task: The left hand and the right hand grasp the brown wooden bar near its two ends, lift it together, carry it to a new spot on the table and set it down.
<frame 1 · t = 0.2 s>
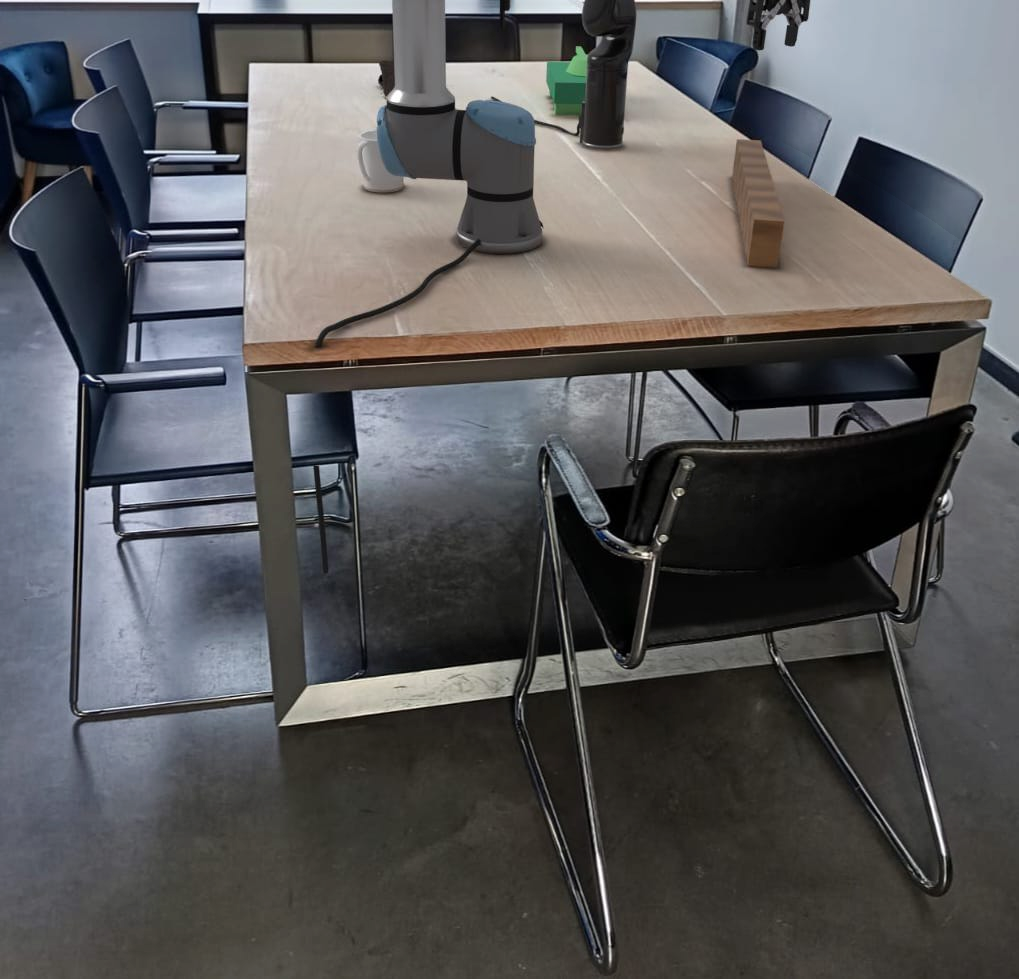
left hand: (469, 27, 224), 28 cm above the table, tool pointing down, fingers open, 13 cm apart
right hand: (773, 47, 212), 28 cm above the table, tool pointing down, fingers open, 8 cm apart
green gift box: (581, 103, 292), on the table
mug: (379, 189, 221), on the table
brown wooden bar: (752, 218, 210), on the table
dark brown boot: (403, 91, 300), on the table
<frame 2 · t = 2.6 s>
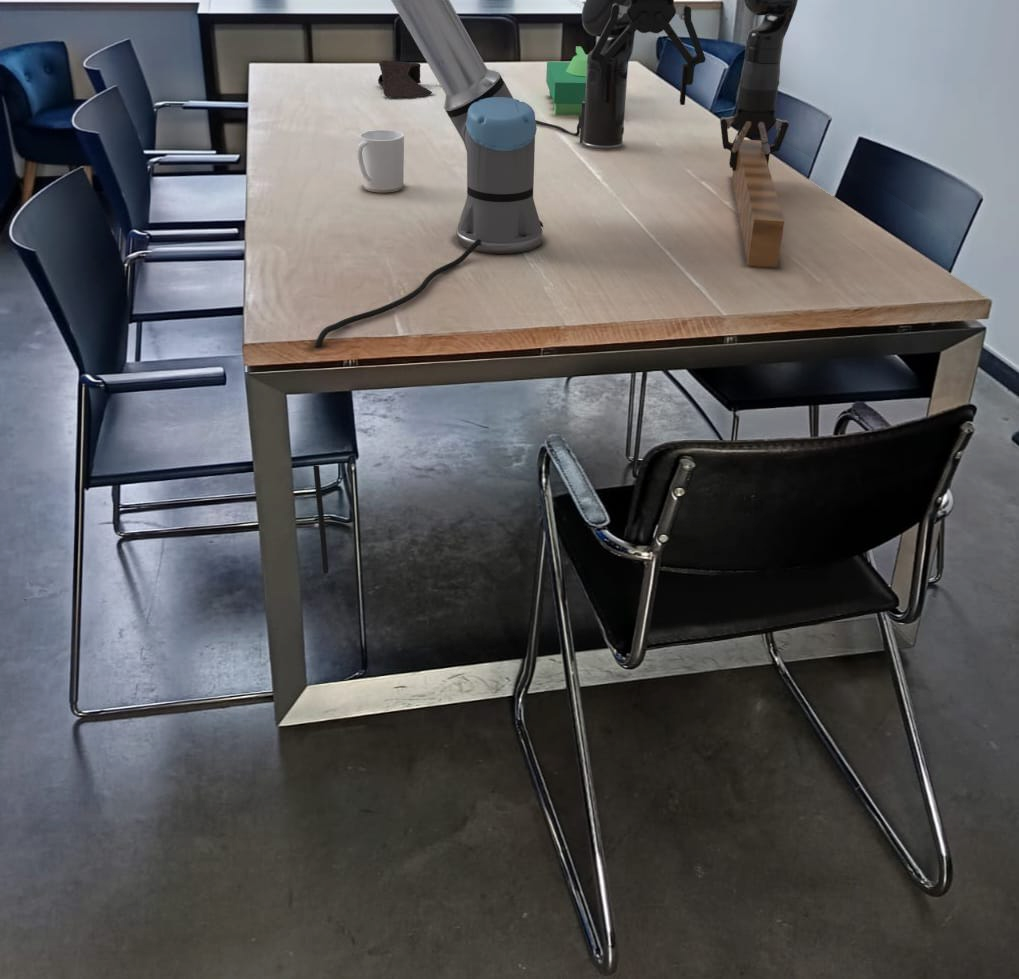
left hand: (644, 102, 199), 21 cm above the table, tool pointing down, fingers open, 13 cm apart
right hand: (747, 170, 226), 4 cm above the table, tool pointing down, fingers closed on brown wooden bar, 5 cm apart
brown wooden bar: (752, 218, 210), on the table, touching right hand
everything else where it was.
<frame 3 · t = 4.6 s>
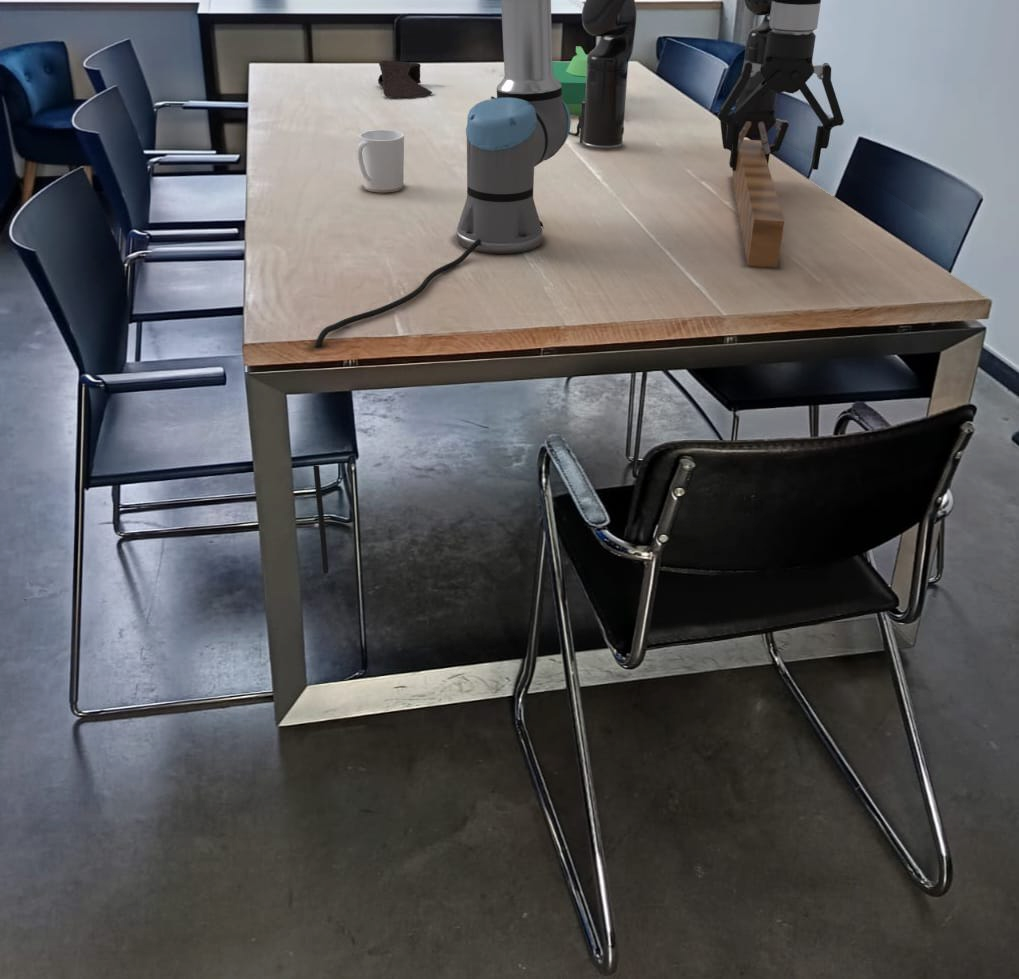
left hand: (773, 166, 184), 15 cm above the table, tool pointing down, fingers open, 13 cm apart
right hand: (747, 170, 226), 4 cm above the table, tool pointing down, fingers closed on brown wooden bar, 5 cm apart
brown wooden bar: (752, 218, 210), on the table, touching right hand
everything else where it was.
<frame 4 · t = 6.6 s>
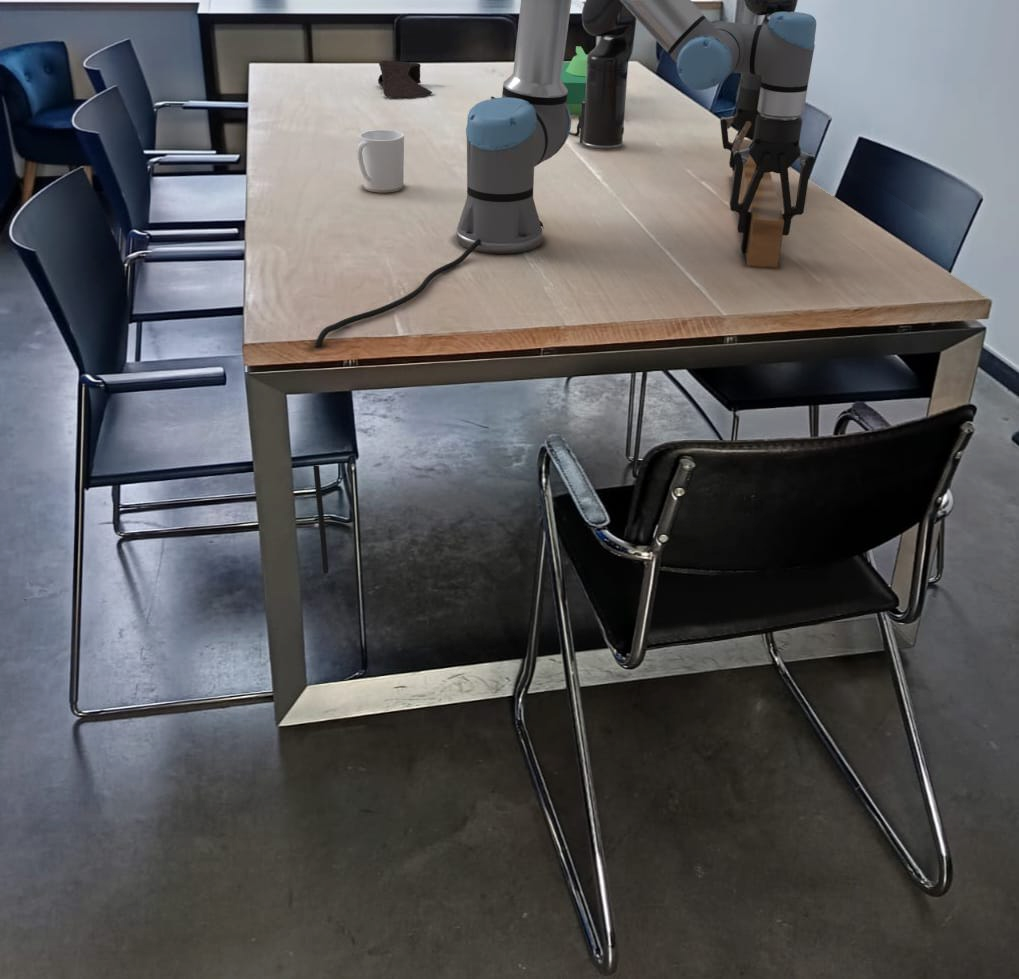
left hand: (760, 251, 192), 1 cm above the table, tool pointing down, fingers closed on brown wooden bar, 5 cm apart
right hand: (747, 170, 226), 4 cm above the table, tool pointing down, fingers closed on brown wooden bar, 5 cm apart
brown wooden bar: (752, 218, 210), on the table, touching left hand, right hand
everything else where it was.
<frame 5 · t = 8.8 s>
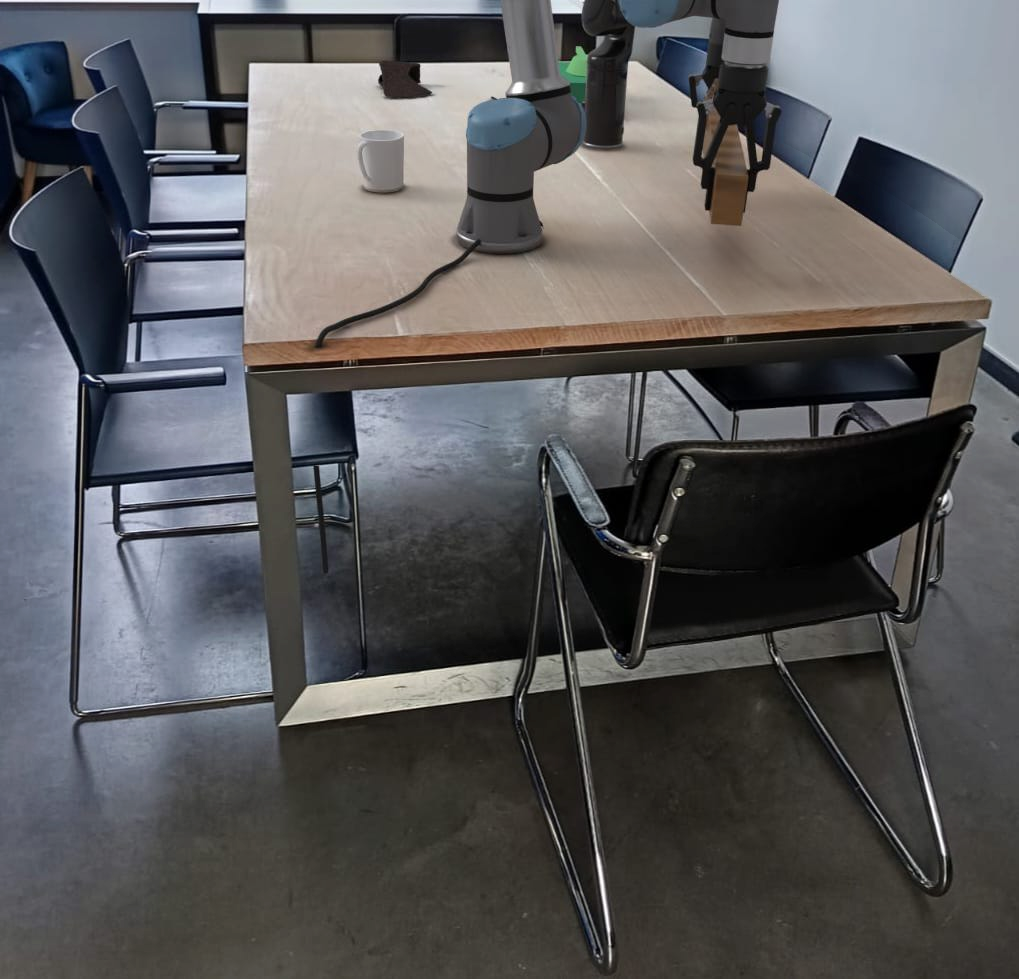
left hand: (724, 208, 184), 9 cm above the table, tool pointing down, fingers closed on brown wooden bar, 5 cm apart
right hand: (717, 130, 217), 12 cm above the table, tool pointing down, fingers closed on brown wooden bar, 5 cm apart
brown wooden bar: (719, 177, 202), point 9 cm above the table, touching left hand, right hand
everything else where it was.
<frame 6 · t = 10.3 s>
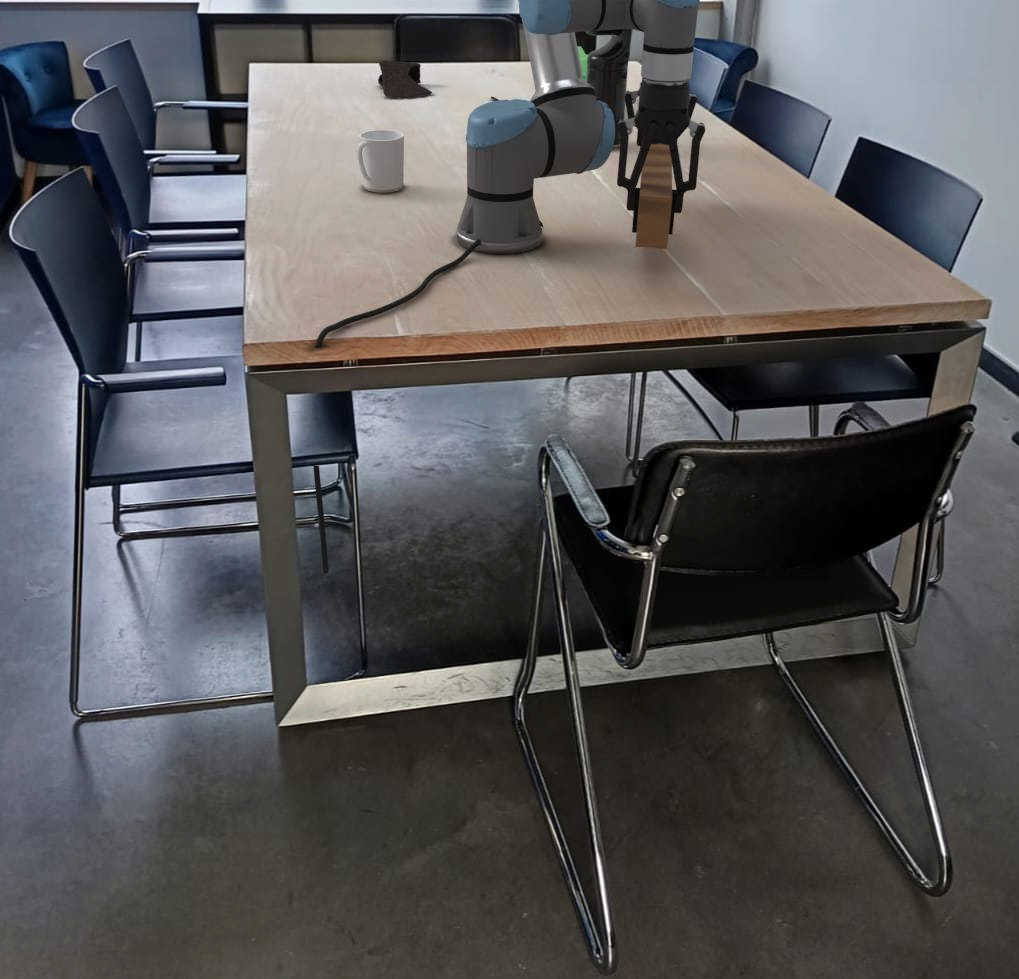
left hand: (652, 230, 177), 8 cm above the table, tool pointing down, fingers closed on brown wooden bar, 5 cm apart
right hand: (656, 148, 211), 11 cm above the table, tool pointing down, fingers closed on brown wooden bar, 5 cm apart
brown wooden bar: (653, 198, 195), point 7 cm above the table, touching left hand, right hand
everything else where it was.
when the left hand's fingers open (2 cm above the table, at t = 11.2 s): brown wooden bar stays where it is, on the table.
when the right hand's fingers open (4 cm above the table, at t = 11.3 s): brown wooden bar stays where it is, on the table.
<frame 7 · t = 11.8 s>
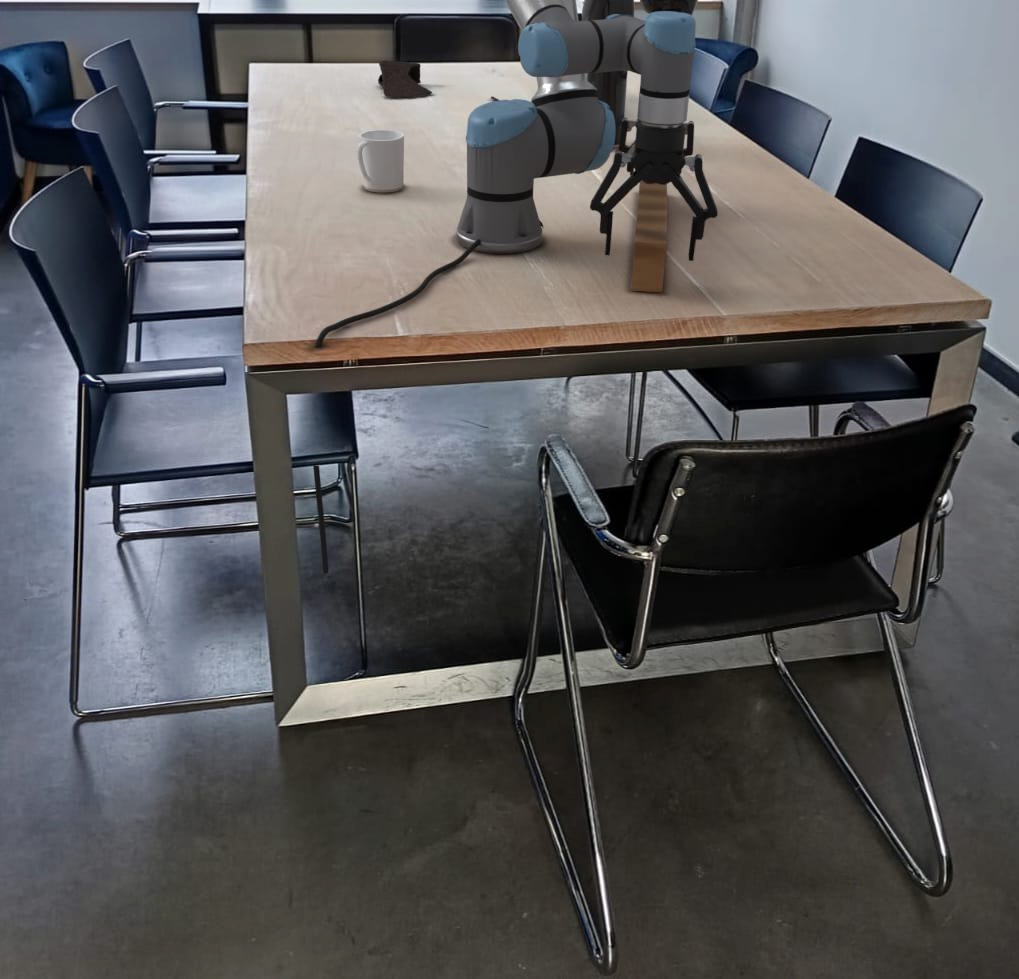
left hand: (649, 255, 179), 4 cm above the table, tool pointing down, fingers open, 13 cm apart
right hand: (653, 175, 213), 6 cm above the table, tool pointing down, fingers open, 8 cm apart
brown wooden bar: (649, 237, 199), on the table
everything else where it was.
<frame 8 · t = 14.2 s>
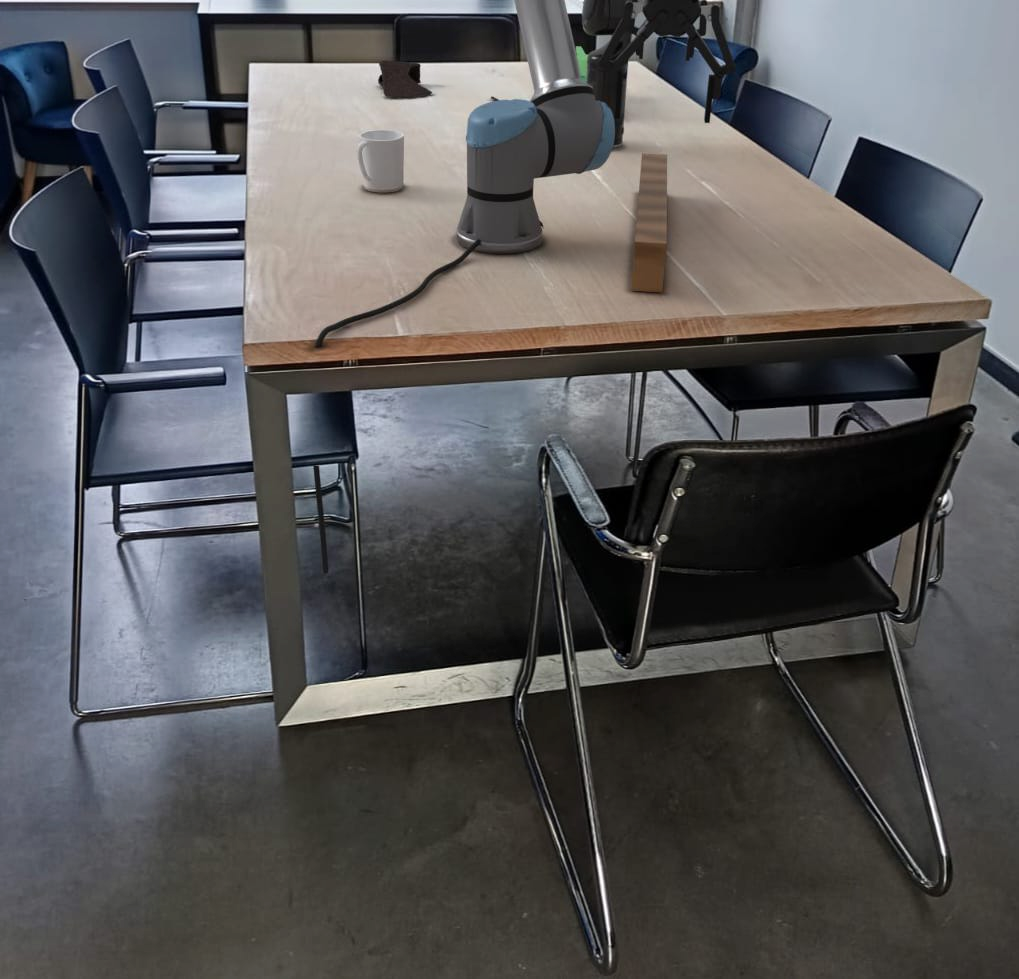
left hand: (662, 119, 167), 26 cm above the table, tool pointing down, fingers open, 13 cm apart
right hand: (663, 59, 202), 27 cm above the table, tool pointing down, fingers open, 8 cm apart
nothing on the table moved.
at the end: brown wooden bar inside the target area (0.5 cm from its centre), on the table; brown wooden bar tilted 0°; brown wooden bar never tilted more than 1° during the clip; both hands held the brown wooden bar at the same time; the left hand is holding nothing; the right hand is holding nothing; brown wooden bar at rest at the end (0.0 cm/s) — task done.
